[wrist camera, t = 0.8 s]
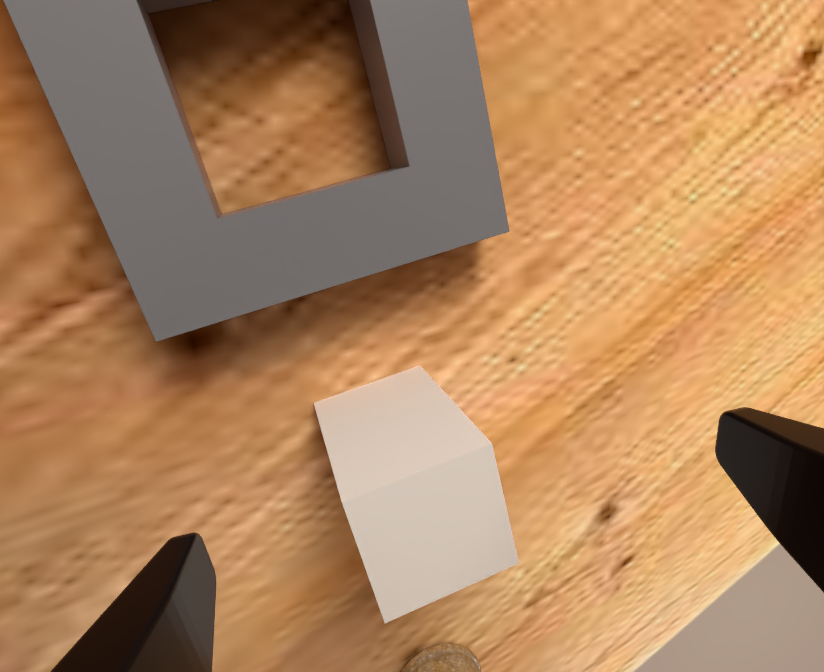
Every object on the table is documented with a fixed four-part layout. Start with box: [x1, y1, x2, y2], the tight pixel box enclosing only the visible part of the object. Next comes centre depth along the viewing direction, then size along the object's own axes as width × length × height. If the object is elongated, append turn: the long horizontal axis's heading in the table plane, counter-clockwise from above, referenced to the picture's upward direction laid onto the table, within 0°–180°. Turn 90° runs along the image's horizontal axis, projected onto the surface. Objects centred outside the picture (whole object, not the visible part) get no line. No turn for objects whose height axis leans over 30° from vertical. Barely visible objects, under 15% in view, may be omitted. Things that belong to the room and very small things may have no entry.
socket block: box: [3, 0, 509, 342], centre depth 16 cm, size 12×12×2 cm
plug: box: [314, 365, 519, 623], centre depth 19 cm, size 4×4×7 cm
